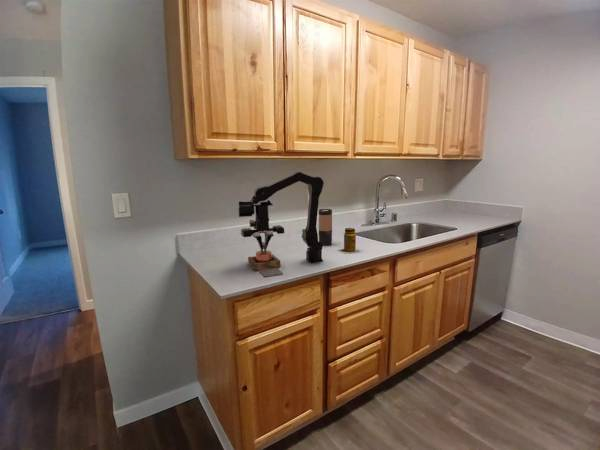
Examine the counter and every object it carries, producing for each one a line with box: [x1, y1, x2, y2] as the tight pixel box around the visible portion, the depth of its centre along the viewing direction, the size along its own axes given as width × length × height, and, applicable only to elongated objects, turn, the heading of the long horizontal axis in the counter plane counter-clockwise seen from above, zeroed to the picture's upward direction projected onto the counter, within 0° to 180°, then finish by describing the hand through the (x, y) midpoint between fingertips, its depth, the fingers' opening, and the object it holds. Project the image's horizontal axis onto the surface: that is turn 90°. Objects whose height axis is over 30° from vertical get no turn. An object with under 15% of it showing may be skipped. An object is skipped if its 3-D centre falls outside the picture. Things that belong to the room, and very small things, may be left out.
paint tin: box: [255, 241, 272, 263], centre depth 142 cm, size 7×7×10 cm
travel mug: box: [318, 208, 333, 247], centre depth 176 cm, size 8×8×20 cm
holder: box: [247, 253, 282, 272], centre depth 143 cm, size 12×12×3 cm
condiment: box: [338, 227, 359, 254], centre depth 163 cm, size 7×8×12 cm
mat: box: [258, 268, 284, 278], centre depth 133 cm, size 8×8×1 cm
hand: (263, 249), depth 142 cm, fingers closed on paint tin
